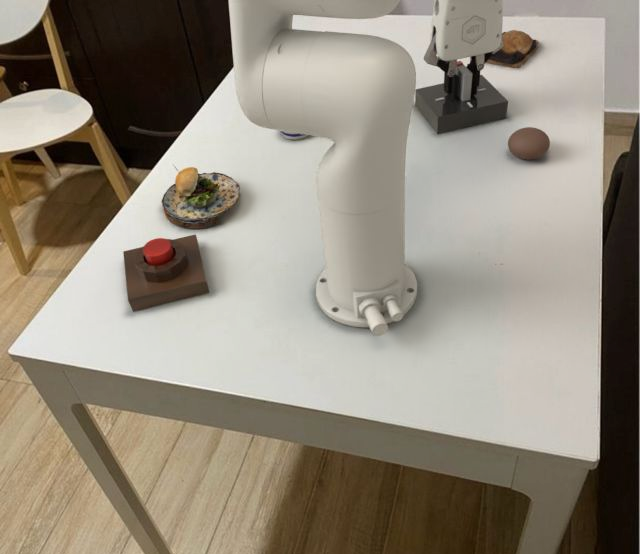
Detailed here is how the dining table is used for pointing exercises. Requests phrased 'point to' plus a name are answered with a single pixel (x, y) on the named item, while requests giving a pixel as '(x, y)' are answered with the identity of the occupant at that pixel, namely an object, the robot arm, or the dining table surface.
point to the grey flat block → (463, 81)
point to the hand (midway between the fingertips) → (460, 92)
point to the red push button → (158, 251)
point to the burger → (199, 198)
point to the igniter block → (165, 275)
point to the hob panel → (460, 107)
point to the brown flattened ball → (528, 143)
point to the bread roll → (514, 49)
